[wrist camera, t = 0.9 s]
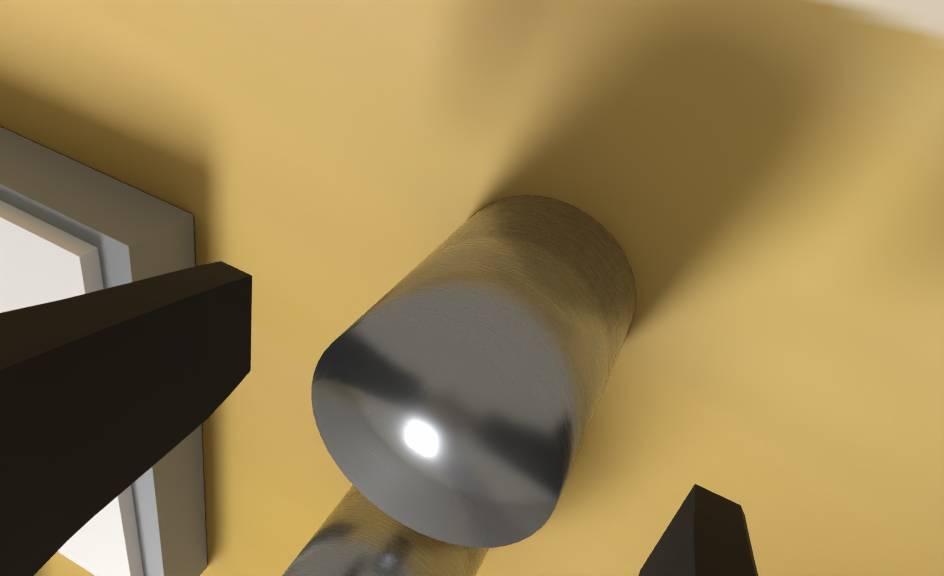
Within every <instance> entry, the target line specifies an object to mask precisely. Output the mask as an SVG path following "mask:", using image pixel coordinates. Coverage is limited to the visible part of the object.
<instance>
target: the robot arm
mask: <svg viewBox="0 0 944 576" xmlns="http://www.w3.org/2000/svg"><path fill="white" fill-rule="evenodd" d="M251 305H252V276H251V275H249V274H247V273H245V272H243V271H241V270H239V269H237V268H234V267H232V266H230V265H228V264H226V263H224V262H222V261H220V262H215V263H209V264H204V265H200V266H195V267H191V268H187V269H182V270H178V271H174V272H170V273H166V274H162V275H158V276H154V277H150V278H146V279H142V280H138V281H134V282H131V283H127V284H123V285H119V286H114V287H110V288H106V289H102V290H98V291H94V292H90V293H86V294H82V295H78V296H74V297H70V298H66V299H62V300H57V301H53V302H48V303H43V304H39V305H34V306H30V307H25V308H20V309H16V310H11V311H6V312H2V313H0V576H34V575H35V574H36V573H37V572H38V570H39V569H40V568H41V567H42V566H43V565H44V564H45V563H46V562H47V561H48V560H49V559H50V558H51V557H52V556H53V555H54V554H55V553H56V552H57V551H58V550H59V549H60V548H61V547H62V546H63V545H64V544H65V543H66V542H67V541H68V540H69V539H70V538H71V537H72V536H73V535H74V534H75V533H76V532H78V531H79V530H80V529H81V528H82V527H83V526H84V525H85V524H86V523H87V522H88V521H90V520H91V519H92V518H93V517H94V516H95V515H96V514H97V513H99V512H100V511H101V510H102V509H103V508H104V507H106V506H107V505H108V504H109V503H110V502H111V501H113V500H114V499H115V498H116V497H117V496H118V495H120V494H121V493H122V492H123V491H124V490H125V489H127V488H128V487H129V486H130V485H131V484H133V483H134V482H135V481H136V480H137V479H138V478H140V477H141V476H142V475H143V474H144V473H145V472H147V471H148V470H149V469H150V468H151V467H152V466H154V465H155V464H156V463H157V462H158V461H159V460H161V459H162V458H163V457H164V456H165V455H166V454H168V453H169V452H170V451H171V450H172V449H173V448H175V447H176V446H177V445H178V444H179V443H180V442H181V441H183V440H184V439H185V438H186V437H187V436H188V435H189V434H191V433H192V432H193V431H194V430H195V429H196V428H197V427H199V426H200V425H201V424H202V423H203V422H204V421H205V420H206V419H208V418H209V417H210V415H211V414H212V413H213V412H214V411H215V410H216V409H217V408H218V407H219V406H220V405H221V404H222V403H223V401H224V400H225V399H226V398H227V397H228V396H229V395H230V394H231V393H232V391H233V390H234V389H235V388H236V387H237V386H238V385H239V383H240V382H241V381H242V380H243V379H244V378H245V376H246V375H247V374H248V373H249V372H250V369H251ZM639 576H758V573H757V569H756V565H755V560H754V556H753V551H752V547H751V542H750V538H749V533H748V529H747V524H746V519H745V515H744V512H743V510H742V508H741V505H739V504H737V503H734V502H732V501H730V500H728V499H726V498H724V497H722V496H720V495H717V494H715V493H713V492H711V491H709V490H707V489H705V488H703V487H700V486H698V485H696V484H695V485H694V486H693V488H692V490H691V491H690V493H689V494H688V496H687V497H686V499H685V501H684V502H683V504H682V505H681V507H680V508H679V510H678V512H677V513H676V515H675V516H674V518H673V520H672V521H671V523H670V524H669V526H668V527H667V529H666V531H665V532H664V534H663V535H662V537H661V538H660V540H659V542H658V543H657V545H656V546H655V548H654V550H653V551H652V553H651V554H650V556H649V557H648V559H647V561H646V562H645V564H644V565H643V567H642V568H641V570H640V573H639Z"/></svg>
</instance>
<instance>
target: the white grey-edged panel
mask: <svg viewBox="0 0 944 576" xmlns="http://www.w3.org/2000/svg"><path fill="white" fill-rule="evenodd" d="M191 267H195V251H194V226H193V214H190V213H188V212H186V211H184V210H182V209H180V208H177V207H175V206H173V205H171V204H169V203H166V202H164V201H162V200H160V199H158V198H155V197H153V196H151V195H149V194H147V193H144V192H142V191H140V190H138V189H136V188H133V187H131V186H129V185H127V184H125V183H123V182H120V181H118V180H116V179H114V178H112V177H109V176H107V175H105V174H103V173H101V172H98V171H96V170H94V169H92V168H90V167H87V166H85V165H83V164H81V163H79V162H77V161H74V160H72V159H70V158H68V157H66V156H63V155H61V154H59V153H57V152H55V151H52V150H50V149H48V148H46V147H44V146H41V145H39V144H37V143H35V142H33V141H31V140H28V139H26V138H24V137H22V136H20V135H17V134H15V133H13V132H11V131H9V130H6V129H4V128H2V127H0V313H2V312H6V311H11V310H16V309H20V308H25V307H30V306H34V305H39V304H43V303H48V302H53V301H57V300H62V299H66V298H70V297H74V296H78V295H82V294H86V293H90V292H94V291H98V290H102V289H106V288H110V287H114V286H119V285H123V284H127V283H131V282H134V281H138V280H142V279H146V278H150V277H154V276H158V275H162V274H166V273H170V272H174V271H178V270H182V269H187V268H191ZM58 552H59V553H61V554H63V555H64V556H66V557H67V558H69V559H70V560H72V561H73V562H75V563H77V564H78V565H80V566H81V567H83V568H84V569H86V570H87V571H89V572H90V573H92V574H94V575H95V576H200V574H201V573H202V572H203V571H204V570H205V569H206V568H207V549H206V525H205V500H204V475H203V450H202V425H200V426H199V427H197V428H196V429H195V430H194V431H193V432H192V433H191V434H189V435H188V436H187V437H186V438H185V439H184V440H183V441H181V442H180V443H179V444H178V445H177V446H176V447H175V448H173V449H172V450H171V451H170V452H169V453H168V454H166V455H165V456H164V457H163V458H162V459H161V460H159V461H158V462H157V463H156V464H155V465H154V466H152V467H151V468H150V469H149V470H148V471H147V472H145V473H144V474H143V475H142V476H141V477H140V478H138V479H137V480H136V481H135V482H134V483H133V484H131V485H130V486H129V487H128V488H127V489H125V490H124V491H123V492H122V493H121V494H120V495H118V496H117V497H116V498H115V499H114V500H113V501H111V502H110V503H109V504H108V505H107V506H106V507H104V508H103V509H102V510H101V511H100V512H99V513H97V514H96V515H95V516H94V517H93V518H92V519H91V520H90V521H88V522H87V523H86V524H85V525H84V526H83V527H82V528H81V529H80V530H79V531H78V532H76V533H75V534H74V535H73V536H72V537H71V538H70V539H69V540H68V541H67V542H66V543H65V544H64V545H63V546H62V547H61V548H60V549H59V550H58Z"/></svg>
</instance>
